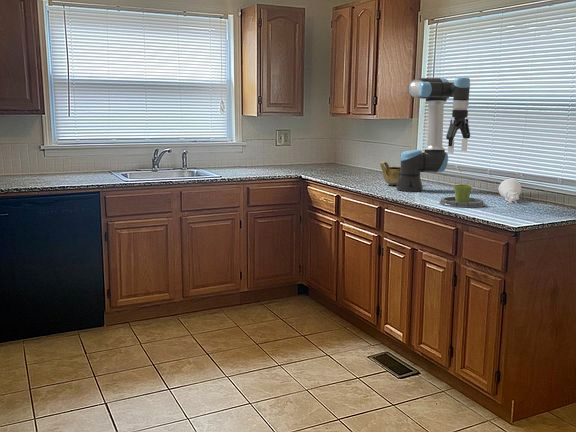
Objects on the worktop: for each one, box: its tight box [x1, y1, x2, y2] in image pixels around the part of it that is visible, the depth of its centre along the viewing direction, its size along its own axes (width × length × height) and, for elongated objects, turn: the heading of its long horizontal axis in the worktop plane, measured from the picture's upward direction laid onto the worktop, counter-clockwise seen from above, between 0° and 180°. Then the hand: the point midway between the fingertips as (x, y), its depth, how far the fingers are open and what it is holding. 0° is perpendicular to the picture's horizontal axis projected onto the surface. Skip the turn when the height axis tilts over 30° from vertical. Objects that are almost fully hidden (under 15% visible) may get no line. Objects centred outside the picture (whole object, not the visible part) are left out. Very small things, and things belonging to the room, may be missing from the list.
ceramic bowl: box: [379, 161, 400, 187], centre depth 368 cm, size 22×17×15 cm
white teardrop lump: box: [498, 178, 522, 205], centre depth 309 cm, size 12×12×18 cm
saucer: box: [438, 196, 485, 209], centre depth 299 cm, size 22×22×2 cm
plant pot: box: [453, 184, 473, 203], centre depth 298 cm, size 9×9×9 cm
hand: (457, 152), depth 299 cm, fingers open, 13 cm apart
